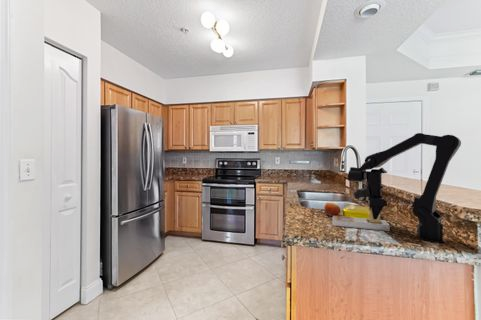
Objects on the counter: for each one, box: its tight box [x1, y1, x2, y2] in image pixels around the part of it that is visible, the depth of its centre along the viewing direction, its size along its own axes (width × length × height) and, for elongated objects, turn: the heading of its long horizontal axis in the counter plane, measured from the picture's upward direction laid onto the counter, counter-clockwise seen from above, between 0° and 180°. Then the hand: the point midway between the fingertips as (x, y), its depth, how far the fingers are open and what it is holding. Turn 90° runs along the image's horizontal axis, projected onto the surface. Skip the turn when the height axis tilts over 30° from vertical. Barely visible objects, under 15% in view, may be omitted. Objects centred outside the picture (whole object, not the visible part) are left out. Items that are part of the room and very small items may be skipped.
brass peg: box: [368, 208, 381, 224], centre depth 98 cm, size 4×4×8 cm
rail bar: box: [332, 215, 391, 232], centre depth 100 cm, size 22×8×3 cm, turn 68°
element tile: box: [342, 204, 369, 219], centre depth 116 cm, size 15×15×5 cm
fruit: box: [323, 202, 341, 218], centre depth 118 cm, size 8×8×8 cm
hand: (374, 218), depth 98 cm, fingers closed on brass peg, 4 cm apart
